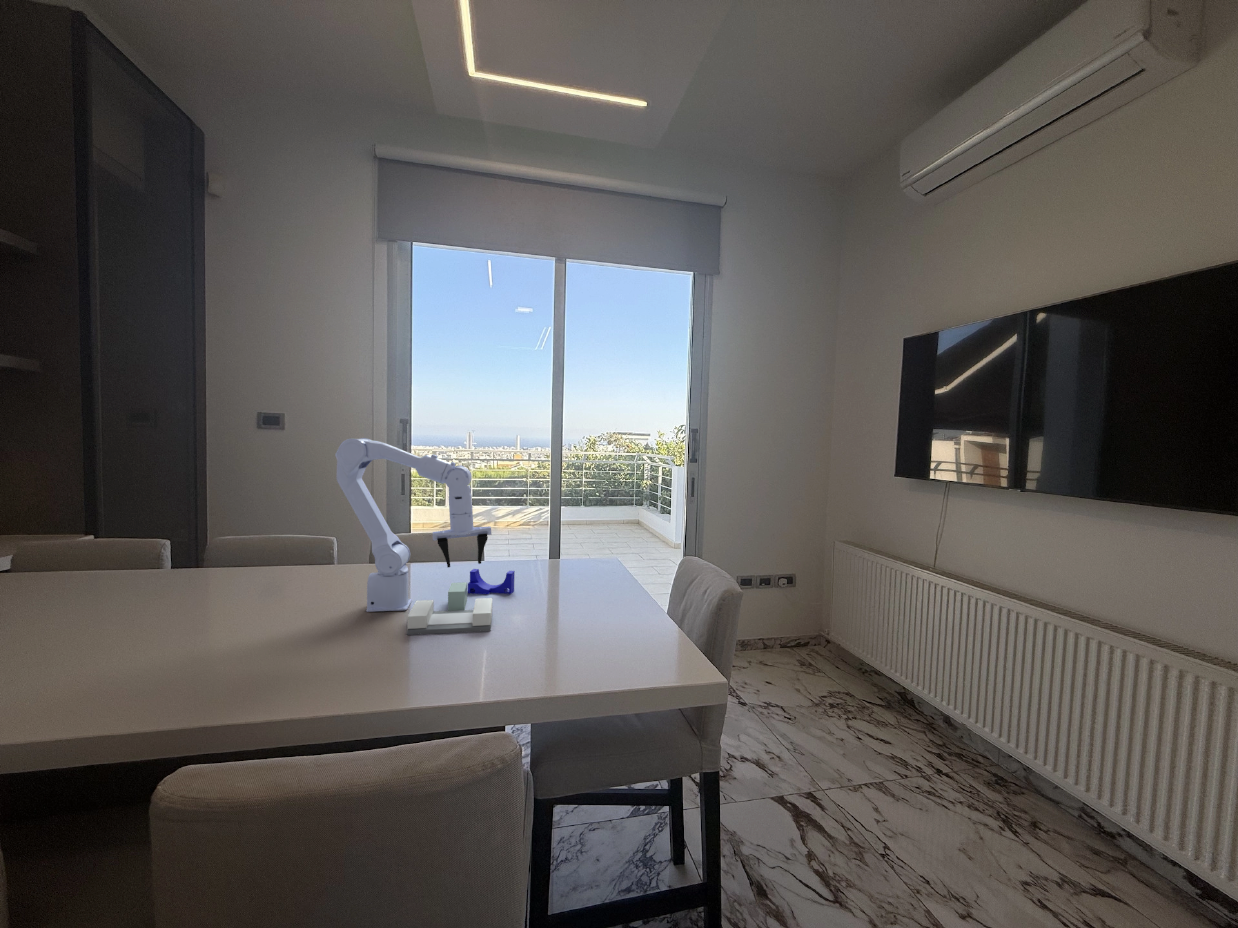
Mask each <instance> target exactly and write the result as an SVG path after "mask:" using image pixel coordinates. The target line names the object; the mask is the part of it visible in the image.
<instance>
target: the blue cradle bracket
mask: <svg viewBox="0 0 1238 928" xmlns="http://www.w3.org/2000/svg"><path fill="white" fill-rule="evenodd" d="M514 591H515V570H508V571H507V572H506V574H505V578H504V580H503V582H501V583H500V584H490V583H487V582H486V581H485V580H484V579H483V578H482V577H481V574H480V569H479V568H473V569H472V570H469V582H467V594H473V595H474V594H475V595H490V594H503V595H504V594H507V595H508V594H509V595H512V594H513V593H514Z"/></svg>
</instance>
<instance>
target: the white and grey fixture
mask: <svg viewBox="0 0 1238 928" xmlns="http://www.w3.org/2000/svg"><path fill="white" fill-rule="evenodd" d="M434 602H435V601H434V599H427V600H422V599H421V600H416V601H415V602H414V604H413V606H412V607H411V610H410V611H409V613H408V614H407V625H406V626H407V629H406V636H414V635H417V636H418V635H433V634H435V635H436V634H456V633H472V632H473V633H474V632H476V633H477V632H490V631H491V629H492V620H493V619H492V618H493V597H482V598H481V597H480V598H475V601H474V606H473V609H465V610H456V611H448V610H435V611H434V609H435V608H434V606H435V605H434Z"/></svg>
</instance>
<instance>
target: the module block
mask: <svg viewBox="0 0 1238 928" xmlns="http://www.w3.org/2000/svg"><path fill="white" fill-rule="evenodd" d="M448 588H449V590H448V591H447V611H456V610H466V605H467V602H468V582H466V581H465V582H463V581H462V582H451V583H450V586H449V587H448Z"/></svg>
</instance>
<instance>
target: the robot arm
mask: <svg viewBox="0 0 1238 928" xmlns="http://www.w3.org/2000/svg"><path fill="white" fill-rule="evenodd" d="M336 450H337V451H336V452H335V454H334V455H335V458H336V482H337V483H338V485H339V488H340V490H341V491H342V492H343V494H344V496H345V498H346V499H347V501H348V503H349V504H350V507H351V508H352V510H353V512H354V514H355V516H356V517H357V519H358V521H359V523H360V525H362V527H363V529H364V531H365V533H366V535H367V537H368V539H369V540H370V541H371V553H372V555H373V557H374V565H375V568H376V570H377V571H376V572H371V573H369V575H368V576H367V577H368V578H367V582H366V584H367V585H366V612H367V613H369V612H391V611H393V612H394V611H397V612H398V611H406V610H408V609H409V607H410V605H411V603H412V602H413V598H409V568H408V566H407V563H408V562H409V561H410V559H411V551H410V548H409V547H408V545H406V544H405V543H403V542H402V541H401V539H400V538H399V536H398V535H396V534H395V533H394V532H392V530H391V528H390V526H389V525H388V523H387V521H386V520H385V518H384V516H383V514H382V512H381V510H380V509H379V507H378V505H377V502H376V501H375V499H374V497H373V496H372V495H371V493H370V490H369V489H368V486H367V485H366V483H365V482H364V480H363V476H364V474H365V472H366V469H367V467H368V466H369V465H370V464H371V463H372V461H374V460H383V459H384V460H387V461H390V462H393V463H396V464H400V465H403V466H405V467H409V468H411V469H415V471H416V473H417V475H418V476H419V477H422V478H425V479H428V480H431V481H434V482H436V483H439V484H442V485H443V484H445V485H446V486H447V488H448V511H449V522H450V523H449V525H450V526H449V527H450V529H445V530H438V531H432V541H434V542H435V541H437V545H438V546H439V549H440V550H441V552H442V554H443V556H444V558H445V562H446V566H447V567H446V568H451V561H450V554H449V540H448V539H459V538H465V537H466V538H467V537H476V541H477V564H478V565H480V564H482V557H483V553H484V549H485V547H486V543H487V542H488V537H489V536H492V527H491V526H474V513H473V511H474V510H473V500H472V499H473V498H472V497H473V496H472V493H471V491H472V488H471V485H470V483H471V482H472V477H473V476H472V473H471V472H472V471H470V470H469V469H468V468H467V467H465V466H464V465H459V464H458V465H456V462H455V461H451V462H449V461H447V460H443V459H442V458H441V459H440V458H438V457H439V455H438V454H437V455H436V454H434V453H433V454H431V455H429V454H426V455H423V456H422V457H420V456H419V455H416V454H413V453H410V452H409V451H405V450H403V449H401V448H399V447H396V446H393V445H391V444H388V443H386V442H383V441H379V440H372V439H370V438H367V437H360V438H353V437H352V438H347V439H345V440H343V441H342V442H341V443H340V445H339V447H338V448H337V449H336Z"/></svg>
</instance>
